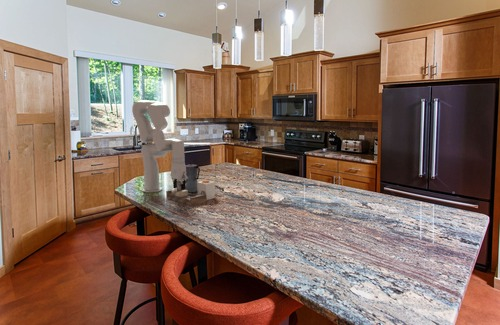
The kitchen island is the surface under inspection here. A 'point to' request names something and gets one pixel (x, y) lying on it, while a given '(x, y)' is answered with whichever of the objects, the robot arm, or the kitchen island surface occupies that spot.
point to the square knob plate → (179, 190)
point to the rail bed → (187, 198)
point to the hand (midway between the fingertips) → (179, 188)
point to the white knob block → (206, 189)
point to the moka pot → (192, 177)
